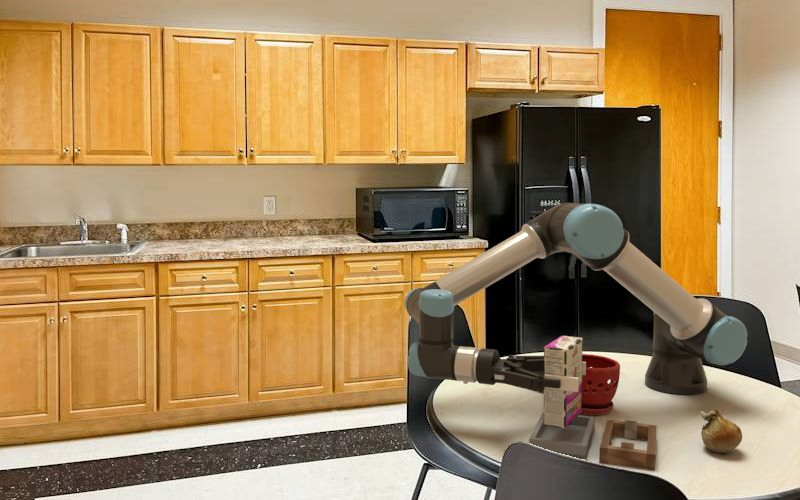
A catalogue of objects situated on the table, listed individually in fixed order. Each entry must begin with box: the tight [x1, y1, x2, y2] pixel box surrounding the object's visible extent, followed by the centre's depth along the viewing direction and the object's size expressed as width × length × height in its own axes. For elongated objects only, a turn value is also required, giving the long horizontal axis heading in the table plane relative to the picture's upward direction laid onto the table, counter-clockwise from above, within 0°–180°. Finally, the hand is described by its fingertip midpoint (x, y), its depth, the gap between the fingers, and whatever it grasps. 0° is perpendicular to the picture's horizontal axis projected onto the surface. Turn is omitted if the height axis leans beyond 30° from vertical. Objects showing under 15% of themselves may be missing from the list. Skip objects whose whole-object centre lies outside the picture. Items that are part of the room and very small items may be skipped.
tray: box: [528, 411, 596, 461], centre depth 140 cm, size 11×17×3 cm, turn 158°
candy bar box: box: [543, 335, 584, 429], centre depth 139 cm, size 11×5×16 cm, turn 148°
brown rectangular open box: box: [598, 418, 658, 471], centre depth 135 cm, size 10×16×4 cm, turn 158°
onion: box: [699, 409, 743, 454], centre depth 134 cm, size 8×8×8 cm
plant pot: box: [579, 353, 621, 416], centre depth 159 cm, size 13×13×12 cm
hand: (582, 376), depth 137 cm, fingers closed on candy bar box, 11 cm apart
